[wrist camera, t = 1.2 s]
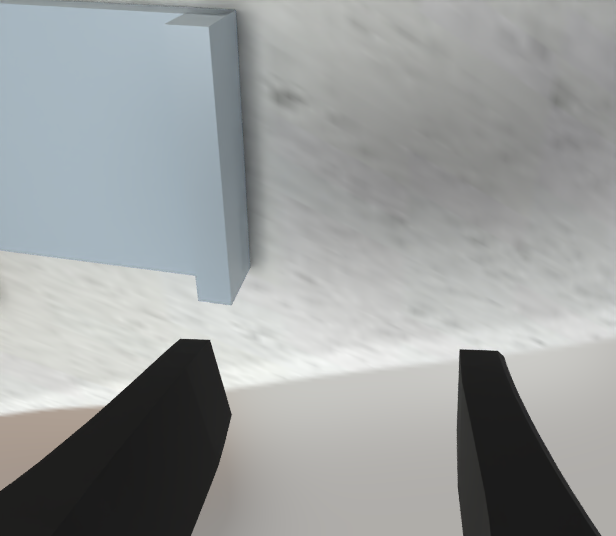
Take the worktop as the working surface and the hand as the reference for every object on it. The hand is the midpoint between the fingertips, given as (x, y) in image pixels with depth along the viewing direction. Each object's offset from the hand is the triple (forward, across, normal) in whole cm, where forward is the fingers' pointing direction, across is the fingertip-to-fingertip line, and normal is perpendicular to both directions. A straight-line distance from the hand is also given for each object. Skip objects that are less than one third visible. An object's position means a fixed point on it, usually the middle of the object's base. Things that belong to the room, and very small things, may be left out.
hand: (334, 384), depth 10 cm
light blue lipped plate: (+10, +10, -1) cm, 14 cm away
